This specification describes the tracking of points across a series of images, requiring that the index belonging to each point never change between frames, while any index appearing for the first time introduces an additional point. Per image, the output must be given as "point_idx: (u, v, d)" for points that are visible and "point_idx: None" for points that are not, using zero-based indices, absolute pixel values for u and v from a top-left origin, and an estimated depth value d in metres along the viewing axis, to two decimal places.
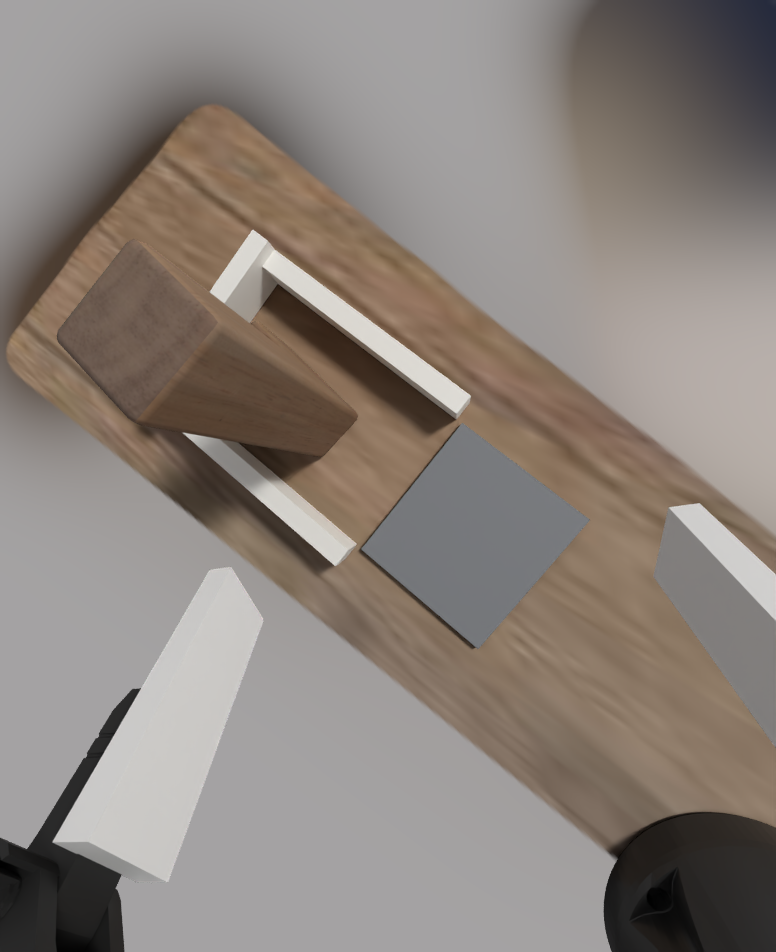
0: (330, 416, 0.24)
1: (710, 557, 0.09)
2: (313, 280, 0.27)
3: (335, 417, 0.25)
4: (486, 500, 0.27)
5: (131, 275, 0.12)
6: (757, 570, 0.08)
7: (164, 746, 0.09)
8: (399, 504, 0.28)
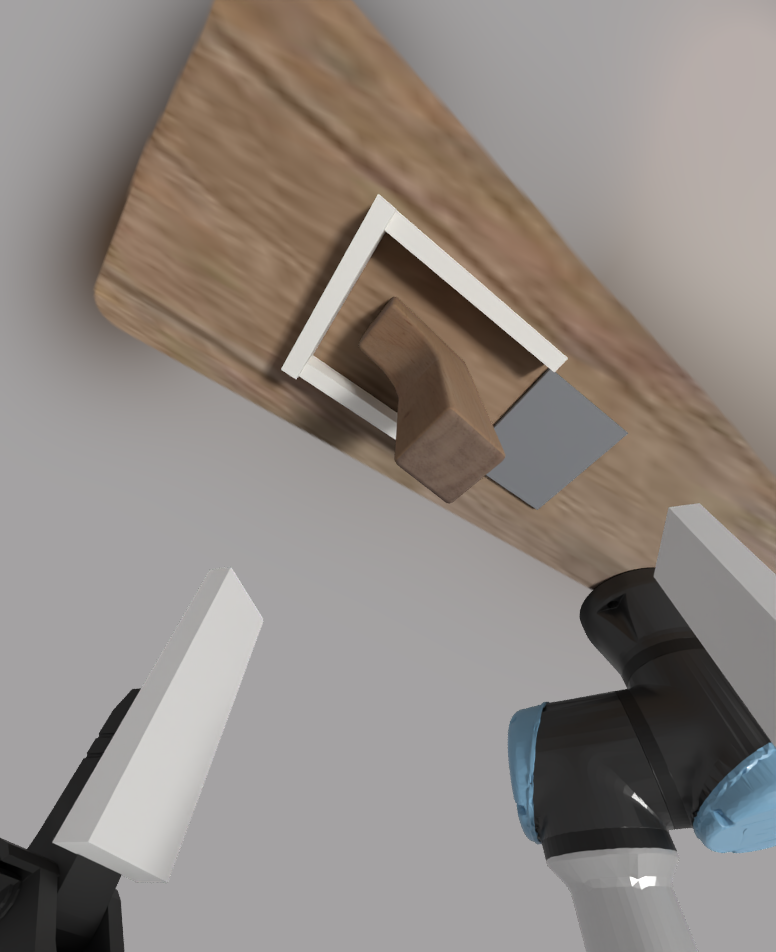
0: None
1: (710, 557, 0.09)
2: (438, 248, 0.29)
3: None
4: (559, 423, 0.38)
5: (451, 433, 0.20)
6: (757, 570, 0.08)
7: (164, 746, 0.09)
8: (494, 429, 0.38)
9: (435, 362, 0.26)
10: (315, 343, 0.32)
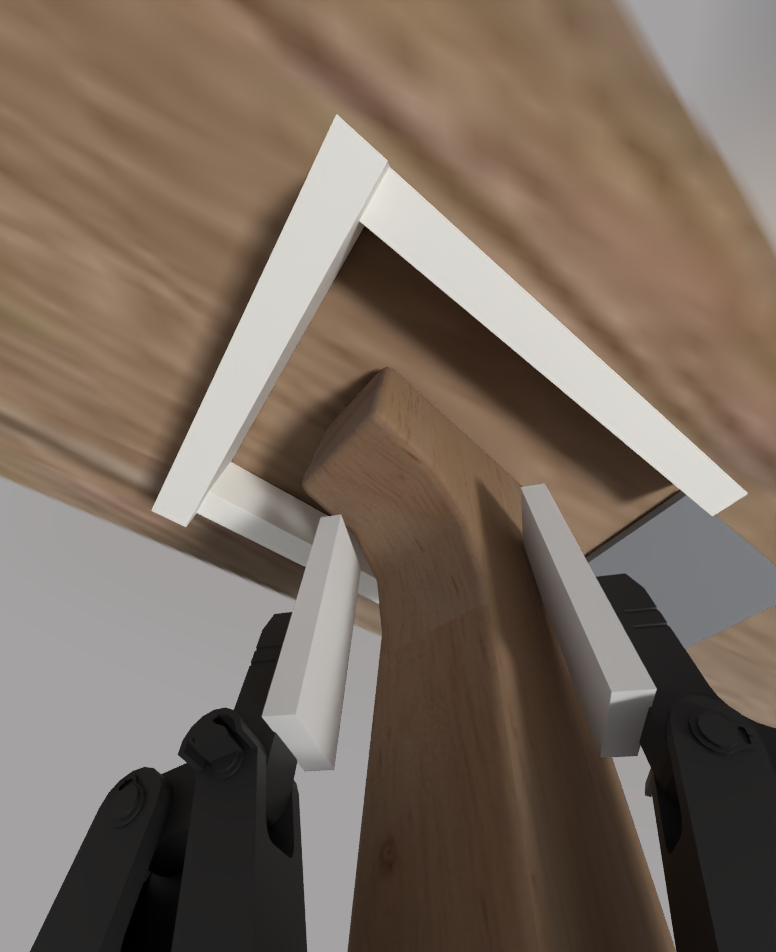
0: None
1: (535, 525, 0.11)
2: (493, 267, 0.11)
3: None
4: (684, 575, 0.21)
5: None
6: (562, 533, 0.10)
7: (322, 654, 0.10)
8: None
9: (479, 618, 0.10)
10: (215, 467, 0.15)
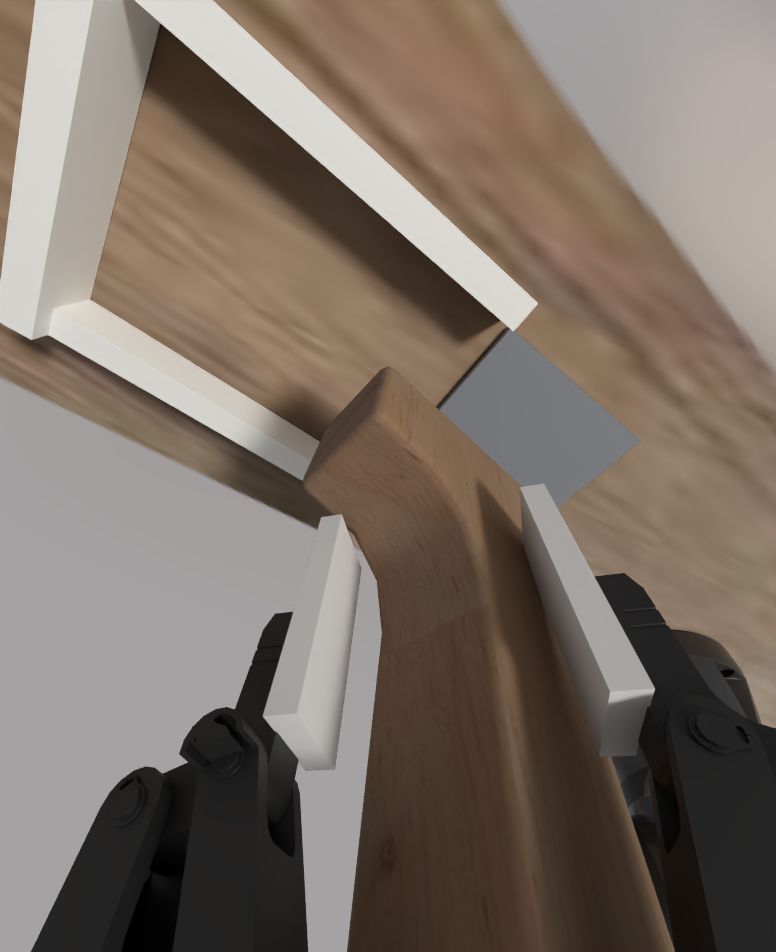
0: None
1: (535, 525, 0.11)
2: (248, 39, 0.13)
3: None
4: (528, 425, 0.23)
5: None
6: (561, 533, 0.10)
7: (323, 654, 0.10)
8: None
9: (479, 618, 0.10)
10: (41, 265, 0.16)
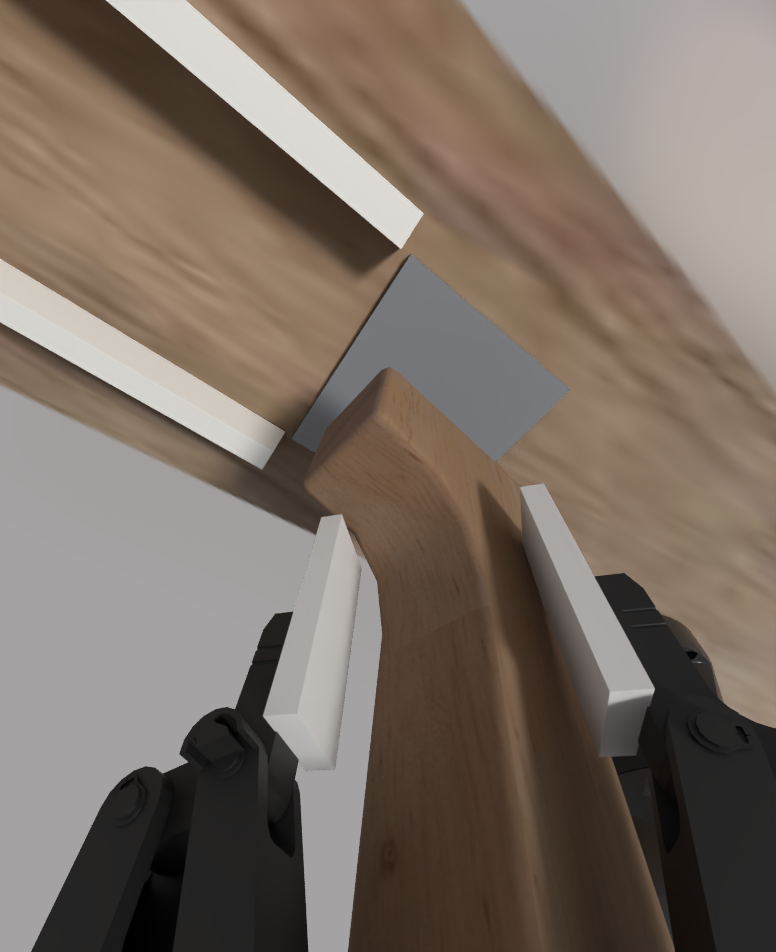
0: None
1: (534, 525, 0.11)
2: None
3: None
4: (444, 371, 0.21)
5: None
6: (561, 533, 0.10)
7: (323, 653, 0.10)
8: (331, 382, 0.21)
9: (480, 619, 0.10)
10: None
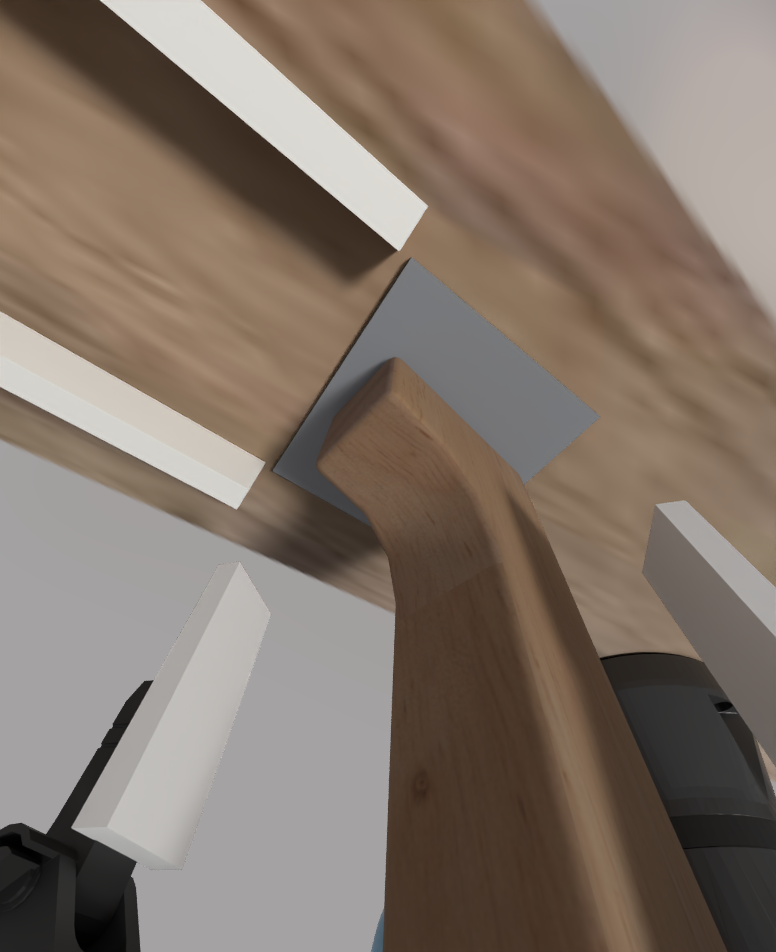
0: None
1: (694, 553, 0.09)
2: None
3: None
4: (451, 396, 0.17)
5: None
6: (739, 565, 0.08)
7: (178, 736, 0.09)
8: (317, 408, 0.18)
9: (495, 573, 0.10)
10: None
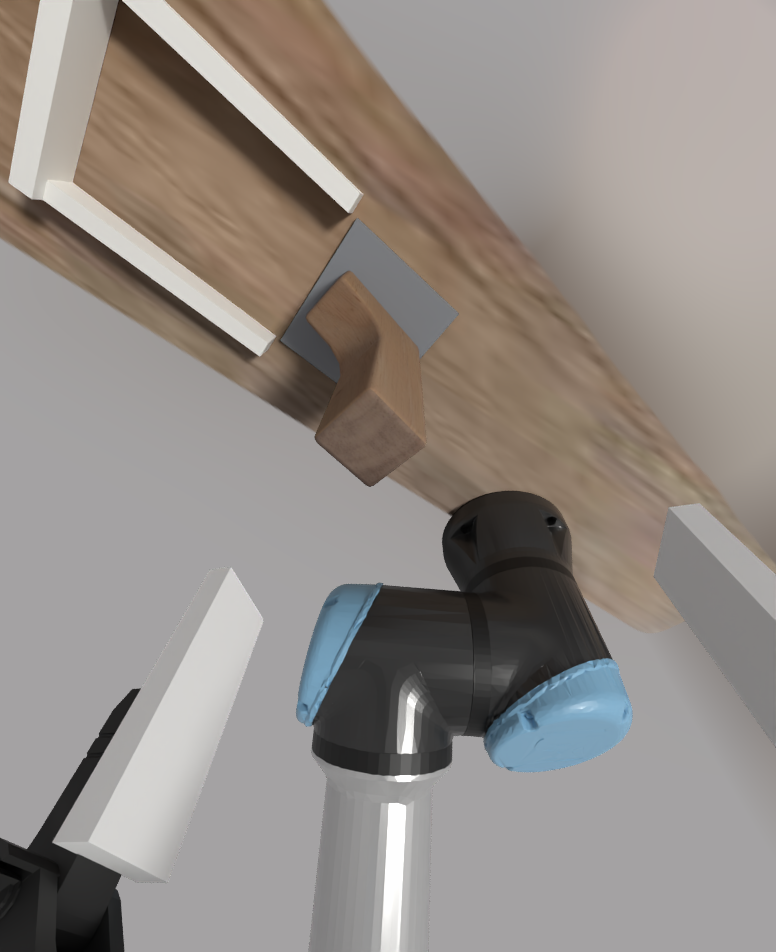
0: None
1: (710, 557, 0.09)
2: (167, 8, 0.22)
3: None
4: (379, 296, 0.33)
5: (371, 414, 0.19)
6: (757, 570, 0.08)
7: (164, 746, 0.09)
8: (307, 300, 0.33)
9: (376, 342, 0.26)
10: (40, 144, 0.25)
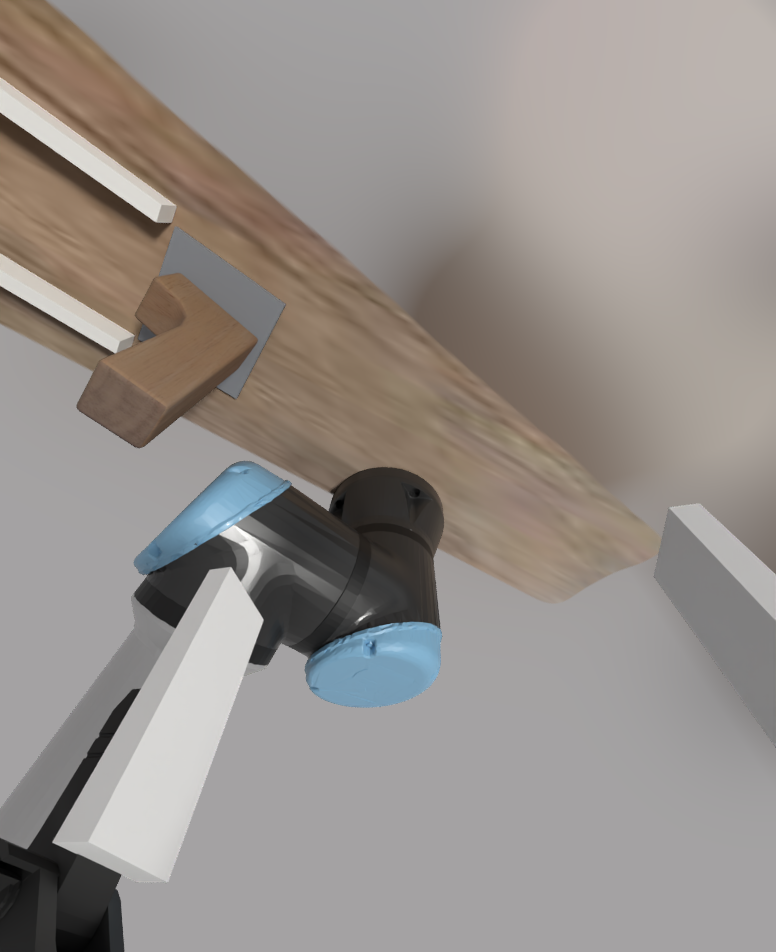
0: (236, 361, 0.35)
1: (710, 557, 0.09)
2: None
3: (240, 357, 0.36)
4: (212, 294, 0.37)
5: (109, 383, 0.23)
6: (757, 570, 0.08)
7: (164, 746, 0.09)
8: None
9: (171, 330, 0.30)
10: None
